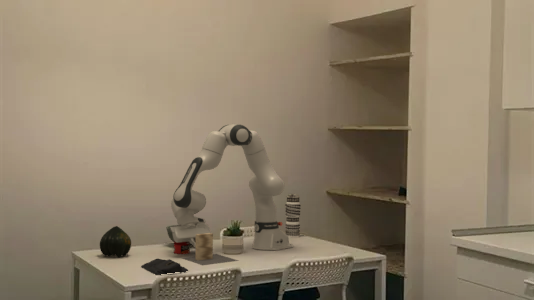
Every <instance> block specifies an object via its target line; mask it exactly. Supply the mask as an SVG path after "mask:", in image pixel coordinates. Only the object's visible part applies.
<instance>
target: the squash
mask: <svg viewBox="0 0 534 300" xmlns="http://www.w3.org/2000/svg"><path fill="white" fill-rule="evenodd" d="M99 248H100V249H99V250H100V252H101V254H102V255H103V256H105V257H112V256H116V258H121V257H124V256H126V255H128V253H130V250H131V248H132V240H131V237H130V236H129V234H128V233H127V232H125V231H124V230H123V229H122V228H121V227H120V226H118V225H115V226H113V227H111V228H110V229H109V230H107V231H106V232H105V233H104V234H103V236H102V237H101V239H100V241H99Z"/></svg>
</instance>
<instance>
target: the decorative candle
mask: <svg viewBox="0 0 534 300" xmlns="http://www.w3.org/2000/svg"><path fill="white" fill-rule="evenodd" d="M284 206H286V207H285V217H286V221H285V232H284V233H285V234H287V236H288V238H300V234H301V233H300V232H301V231H300V228H301V227H300V226H301V224H300V217H301V216H300V215H301V203H300V195H299V194H298V193H288V195H287V196H286V203H285V205H284Z"/></svg>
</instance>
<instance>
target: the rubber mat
mask: <svg viewBox="0 0 534 300" xmlns="http://www.w3.org/2000/svg"><path fill="white" fill-rule="evenodd" d="M181 259H183V260H185V261H189V262H192V263H195V264H198V265H200V266H207V265H215V264H217V265H218V264H225V263H231V262H232V263H233V262H238V261H240V260H238V259H235V258H232V257H228V256H226V255H221V254H218V253H213V259H205V260H195V256H187V257H181Z"/></svg>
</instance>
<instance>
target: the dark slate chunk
mask: <svg viewBox="0 0 534 300" xmlns="http://www.w3.org/2000/svg"><path fill="white" fill-rule="evenodd" d="M140 268H142V269H144V270H145V271H147V272H148V273H151V274H153V275H154V274H155V276H162V275H161V274H167V273H175V272H184V273H187V272H186V271H188V272H189V269H187V268H186V267H185V266H182V265H181V264H180V262H179V263H178V261H177V262H175V261H174V260H172V259H161V258H155V259H153V260H150V261H148V262H146V263H144V264H142V265H140Z"/></svg>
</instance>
